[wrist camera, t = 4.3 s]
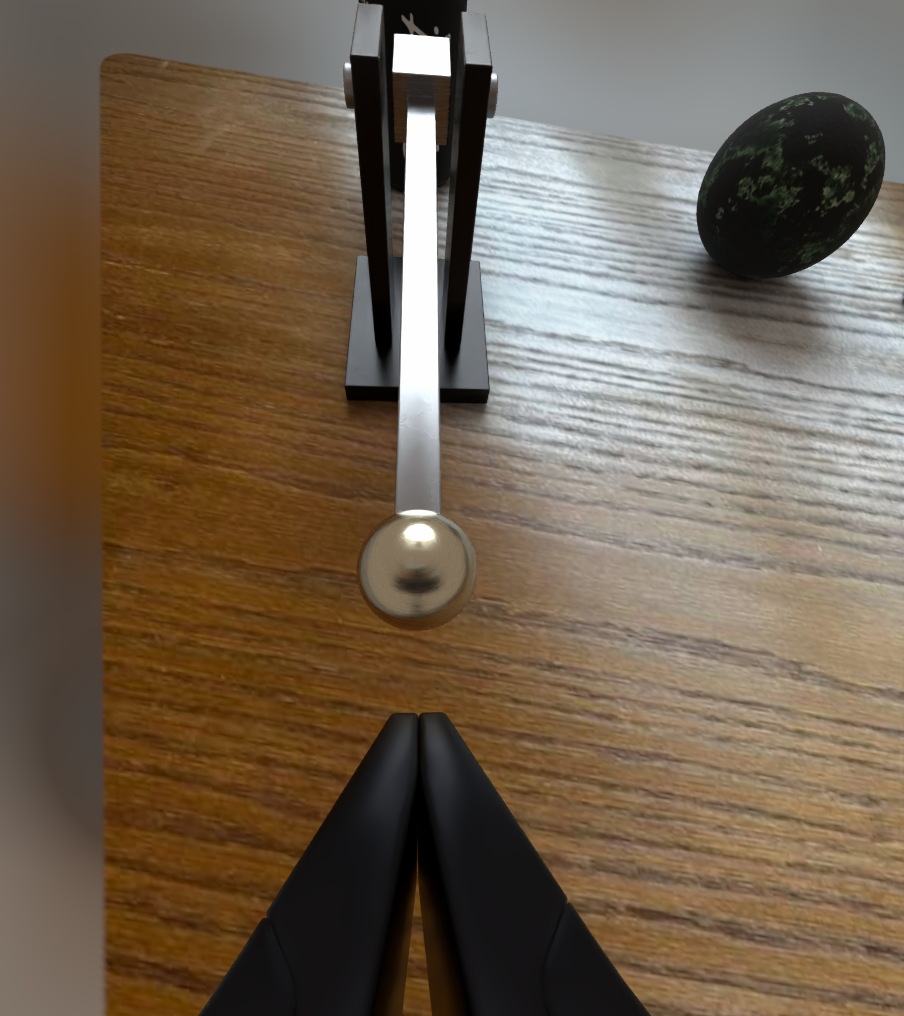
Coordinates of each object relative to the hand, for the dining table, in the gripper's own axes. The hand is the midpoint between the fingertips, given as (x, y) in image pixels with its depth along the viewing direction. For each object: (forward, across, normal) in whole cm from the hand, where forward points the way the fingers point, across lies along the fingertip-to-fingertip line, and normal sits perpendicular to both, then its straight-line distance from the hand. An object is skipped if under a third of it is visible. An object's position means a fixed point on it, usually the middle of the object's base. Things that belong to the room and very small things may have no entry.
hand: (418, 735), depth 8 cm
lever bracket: (+27, 0, -7) cm, 27 cm away
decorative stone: (+33, -23, -12) cm, 42 cm away
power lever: (+12, 0, -7) cm, 14 cm away
